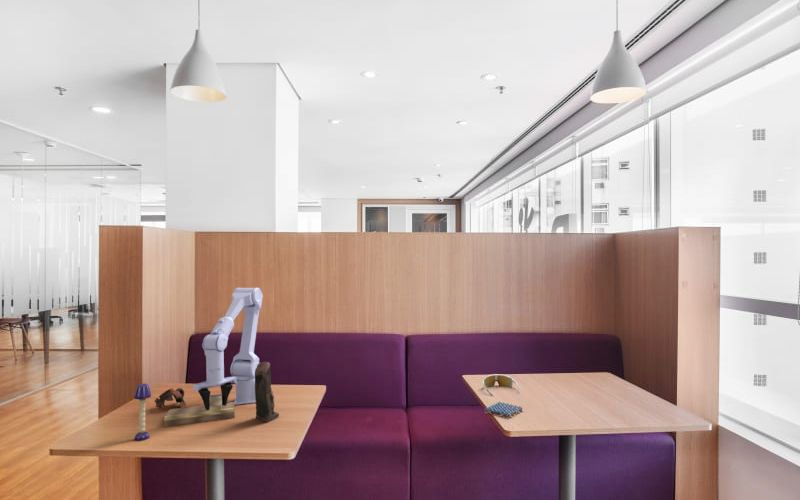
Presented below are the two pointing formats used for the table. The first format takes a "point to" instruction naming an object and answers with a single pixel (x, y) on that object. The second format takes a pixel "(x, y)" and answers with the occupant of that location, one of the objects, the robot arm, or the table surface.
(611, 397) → the table surface
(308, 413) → the table surface
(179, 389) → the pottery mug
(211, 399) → the wooden mallet
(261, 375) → the statue
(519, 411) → the woven mat
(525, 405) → the table surface
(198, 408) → the walnut board
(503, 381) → the sunglasses
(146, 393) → the toy lamp
